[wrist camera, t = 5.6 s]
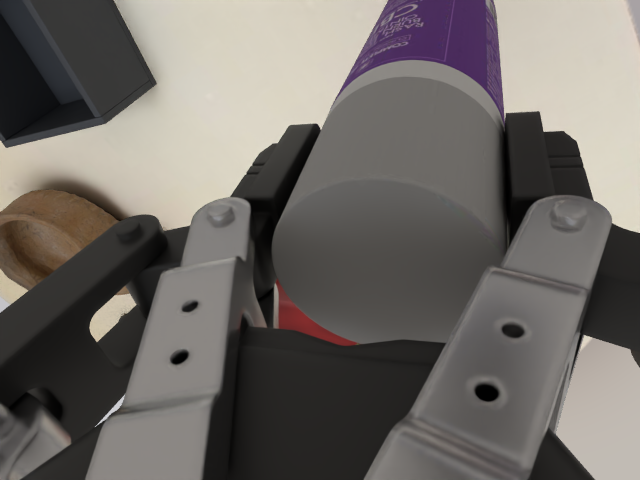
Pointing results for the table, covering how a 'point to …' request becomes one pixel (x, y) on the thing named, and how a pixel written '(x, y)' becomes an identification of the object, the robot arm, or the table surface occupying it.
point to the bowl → (47, 233)
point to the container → (403, 180)
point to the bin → (65, 67)
